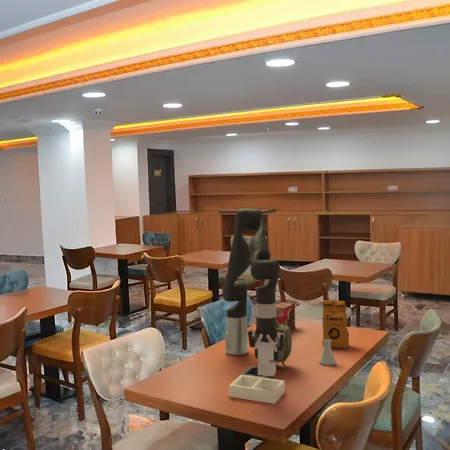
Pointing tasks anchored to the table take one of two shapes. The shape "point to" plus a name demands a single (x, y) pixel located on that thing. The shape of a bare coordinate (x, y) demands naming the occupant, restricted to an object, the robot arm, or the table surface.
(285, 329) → the tabletop clock
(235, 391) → the cream divided tray
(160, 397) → the table surface
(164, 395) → the table surface
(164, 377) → the table surface
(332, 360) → the flask
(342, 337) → the coffee package
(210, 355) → the table surface
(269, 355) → the skincare box
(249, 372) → the socket block
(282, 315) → the ice cream box
